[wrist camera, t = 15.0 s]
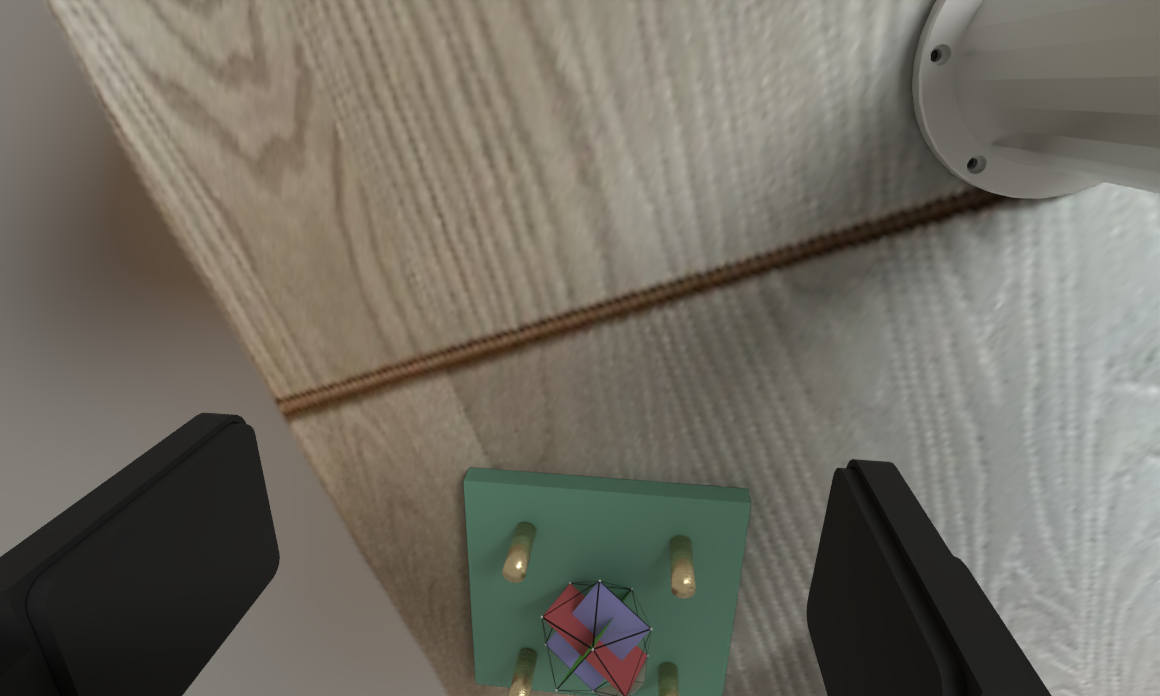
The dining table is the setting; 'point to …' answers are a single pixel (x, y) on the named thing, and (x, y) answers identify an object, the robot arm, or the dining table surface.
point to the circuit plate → (603, 570)
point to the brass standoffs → (516, 573)
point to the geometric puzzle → (598, 639)
